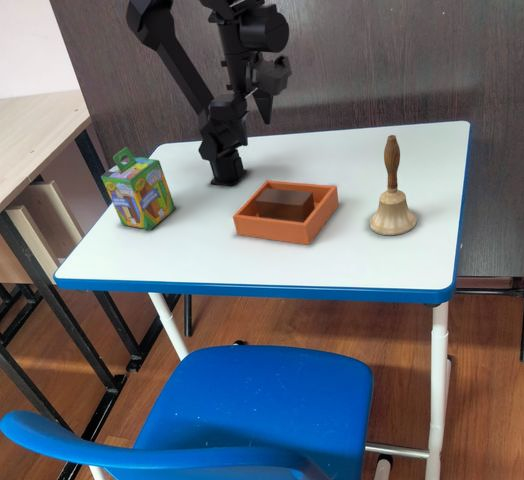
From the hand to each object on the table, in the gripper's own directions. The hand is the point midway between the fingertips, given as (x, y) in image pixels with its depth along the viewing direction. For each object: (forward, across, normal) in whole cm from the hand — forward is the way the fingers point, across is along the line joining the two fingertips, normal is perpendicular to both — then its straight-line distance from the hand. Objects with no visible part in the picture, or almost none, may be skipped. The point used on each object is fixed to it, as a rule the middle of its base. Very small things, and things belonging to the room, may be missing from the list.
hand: (256, 134), depth 105 cm
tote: (+12, -10, -10) cm, 19 cm away
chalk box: (+12, -15, +22) cm, 29 cm away
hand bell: (+12, -7, -30) cm, 33 cm away
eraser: (+11, -10, -10) cm, 18 cm away
